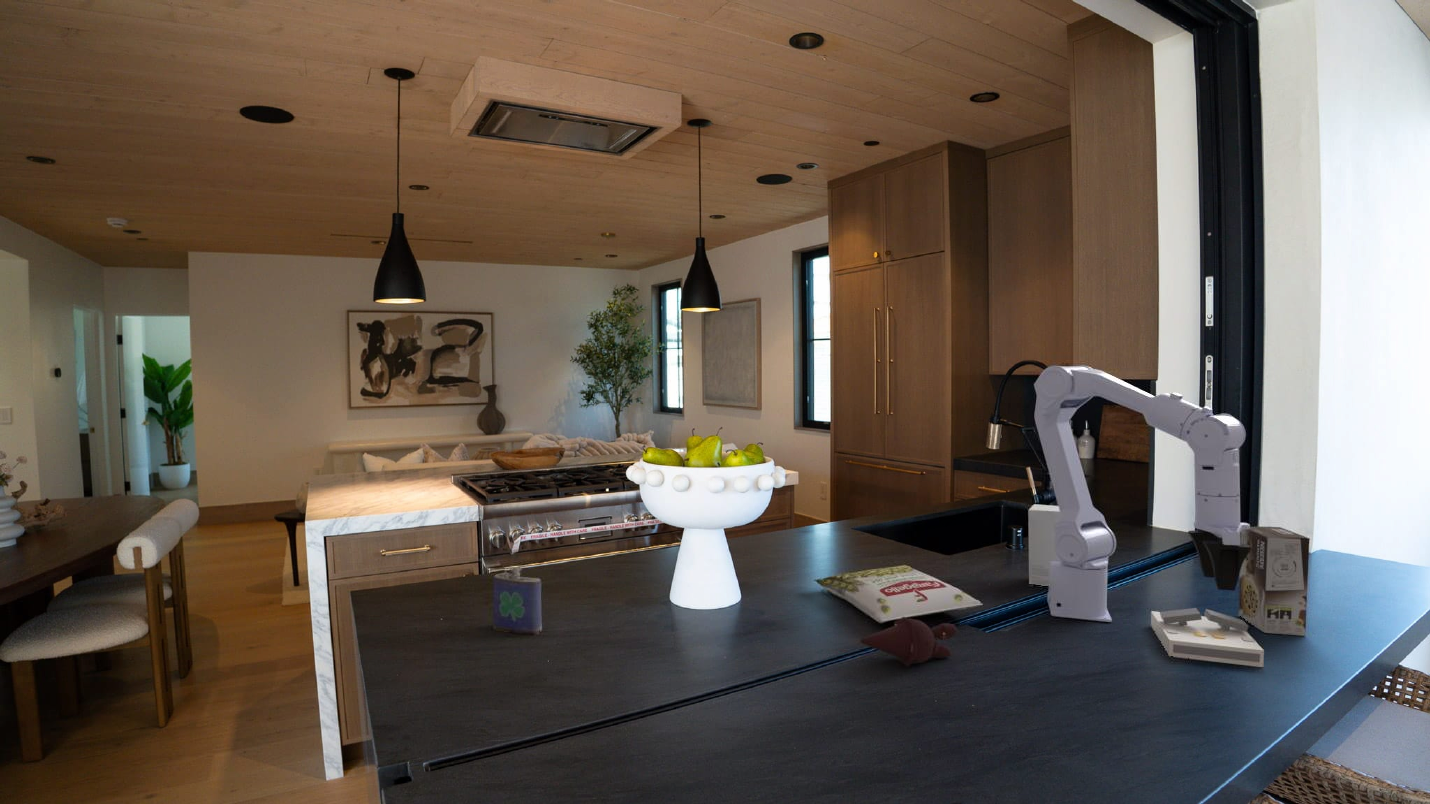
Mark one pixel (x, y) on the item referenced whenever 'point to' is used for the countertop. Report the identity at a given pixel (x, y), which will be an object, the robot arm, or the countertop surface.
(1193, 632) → the console
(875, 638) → the icecream
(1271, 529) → the coffee box
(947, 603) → the frozen beans
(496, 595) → the flask
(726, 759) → the countertop surface
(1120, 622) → the countertop surface
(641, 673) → the countertop surface
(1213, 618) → the rocker right
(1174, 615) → the block
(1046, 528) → the skincare box
